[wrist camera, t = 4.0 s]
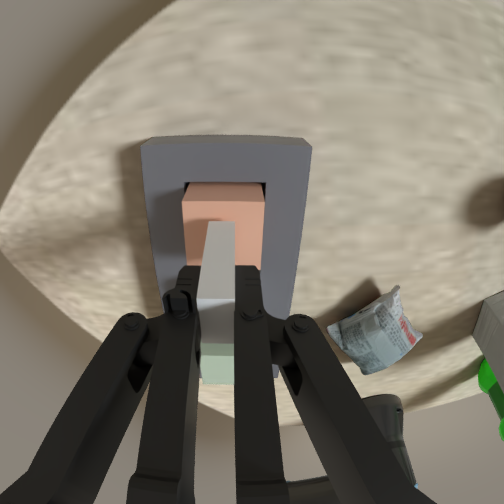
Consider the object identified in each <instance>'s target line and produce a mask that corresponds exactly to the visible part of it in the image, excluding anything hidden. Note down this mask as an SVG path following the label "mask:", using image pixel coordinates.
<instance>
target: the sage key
mask: <svg viewBox="0 0 504 504" xmlns="http://www.w3.org/2000/svg"><path fill="white" fill-rule="evenodd" d="M200 347H201V363H200V368H201V374H202V380H203V384H225V385H234V344H215V343H202V342H201V344H200Z"/></svg>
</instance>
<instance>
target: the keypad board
mask: <svg viewBox="0 0 504 504" xmlns="http://www.w3.org/2000/svg"><path fill="white" fill-rule="evenodd" d="M140 150H141V162H142V174H143V184H144V193H145V202H146V210H147V218H148V225H149V233H150V239H151V246H152V252H153V258H154V264H155V270H156V276H157V281H158V287H159V292H160V297H161V302H162V307H163V311H164V306H163V301H162V297H163V295H164V293H166V292H167V291H168V290H171V289H173V288H175V285H176V281H177V277H178V273H179V271H180V270H181V269H182V267H183V266H184V265H187V259H186V249H185V237H184V225H183V212H182V200H183V197H184V195H185V193H186V190H187V188H188V186H189V184H190V182H262V191H263V196H264V200H265V208H264V224H263V239H262V254H261V269H260V270H259V271H260V280H261V288H262V297H263V306H264V309H265V310H266V312H267V313H268V314H270V315H271V316H273V317H276V318H279V319H283V320H286V319H287V318H288V317H289V313H290V308H291V302H292V295H293V289H294V283H295V277H296V270H297V263H298V257H299V250H300V243H301V236H302V229H303V221H304V213H305V206H306V198H307V189H308V181H309V172H310V163H311V154H312V146H311V145H310V144H309V143H308V142H306V141H305V140H304V139H303V138H295V137H279V136H257V135H185V136H163V137H152V138H151V139H149V140H148V141H146V142H145V143H144V144H142V145H141V146H140ZM164 313H165V311H164ZM272 369H273V378H278V373H279V368H278V365H275V364H272ZM199 378H202V374H201V368H200V376H199Z"/></svg>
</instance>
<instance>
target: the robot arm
mask: <svg viewBox="0 0 504 504" xmlns="http://www.w3.org/2000/svg"><path fill="white" fill-rule="evenodd" d="M162 301H163V306H164V311H165V313H164V314H163V315H161V316H158V317H154V318H149V319H146V318H145V317H144V315H142V314H140V313H134V312H132V313H127V314H125V315H123V316H122V317H121V318H120V319H119V320H118V321H117V323H116V324H115V326H114V327H113V329H112V330H111V331H110V333H109V334H108V336H107V337H106V339H105V340H104V342H103V343H102V345H101V346H100V348H99V350H98V351H97V352H96V354H95V355H94V357H93V359H92V360H91V362H90V363H89V365H88V366H87V368H86V369H85V371H84V373H83V374H82V376H81V378H80V379H79V381H78V382H77V384H76V385H75V387H74V389H73V390H72V392H71V394H70V396H69V397H68V398H67V400H66V402H65V404H64V405H63V407H62V409H61V410H60V412H59V414H58V415H57V417H56V419H55V421H54V422H53V424H52V426H51V428H50V429H49V432H48V433H47V435H46V437H45V438H44V440H43V442H42V444H41V446H40V448H39V450H38V451H37V453H36V456H35V457H34V459H33V461H32V463H31V465H30V467H29V469H28V471H27V472H26V473H25V474H24V475H22V476H21V477H20V478H19V479H18V480H17V481H15V482H14V483H13V484H12V485H11V486H10V487H8V488H7V489H6V490H5V491H4V492H3V493H2V494H0V504H93V503H94V501H95V499H96V497H97V494H98V492H99V489H100V487H101V485H102V483H103V481H104V478H105V476H106V474H107V471H108V469H109V467H110V465H111V463H112V460H113V458H114V456H115V454H116V452H117V449H118V447H119V445H120V443H121V441H122V438H123V436H124V434H125V432H126V430H127V428H128V426H129V424H130V421H131V419H132V417H133V415H134V413H135V411H136V409H137V407H138V405H139V403H140V400H141V398H142V396H143V394H144V392H145V390H146V388H147V386H148V384H149V382H150V386H149V391H148V396H147V402H146V408H145V414H144V420H143V426H142V433H141V440H140V447H139V454H138V461H137V468H136V471H135V473H134V474H133V475H132V476H131V478H130V480H129V484H128V491H127V500H126V504H195V497H194V466H195V442H196V441H195V440H196V421H197V405H198V390H199V376H200V363H201V347H200V344H201V342H202V343H215V344H234V414H235V459H236V460H235V465H236V499H237V504H437V503H435V502H434V501H432V500H431V499H430V498H429V497H427V496H426V495H425V494H423V493H422V492H421V491H419V490H418V489H417V486H418V484H417V483H416V480H415V476H414V473H413V469H412V466H411V462H410V459H409V456H408V453H407V449H406V446H405V443H404V440H403V406H402V404H401V401H400V398H399V397H397V396H395V395H379V396H374V397H370V398H366V399H363V400H362V399H361V397H360V395H359V393H358V392H357V390H356V388H355V387H354V385H353V383H352V382H351V380H350V378H349V377H348V375H347V373H346V372H345V370H344V368H343V367H342V365H341V363H340V362H339V360H338V358H337V357H336V355H335V353H334V352H333V350H332V348H331V347H330V345H329V344H328V342H327V340H326V339H325V337H324V335H323V334H322V332H321V330H320V329H319V327H318V325H317V324H316V322H315V321H314V320H313V319H312V318H311V317H309V316H307V315H303V314H294V315H291V316H289V317H288V318H287V319H286V320H283V319H279V318H276V317H273V316H271V315H270V314H268V313H267V312H266V310H265V309H264V306H263V297H262V288H261V280H260V271H259V270H258V269H257V267H256V266H255V265H235V221H209V223H208V229H207V235H206V241H205V246H204V253H203V259H202V265H201V266H200V265H184V266H183V267H182V269H181V270H180V271H179V273H178V277H177V281H176V285H175V288H173V289H171V290H168V291H167V292H166V293H164V295H163V297H162ZM272 364H275V365H278V368H279V370H280V372H281V375H282V377H283V379H284V381H285V384H286V386H287V388H288V390H289V393H290V395H291V397H292V399H293V402H294V404H295V406H296V408H297V410H298V413H299V415H300V417H301V419H302V421H303V424H304V426H305V428H306V430H307V432H308V434H309V437H310V439H311V441H312V443H313V445H314V448H315V450H316V452H317V454H318V456H319V458H320V461H321V463H322V465H323V467H324V469H325V471H326V473H327V475H326V476H321V477H316V478H311V479H305V480H299V481H286V480H285V478H284V471H283V462H282V453H281V443H280V433H279V424H278V414H277V405H276V396H275V387H274V378H273V369H272Z"/></svg>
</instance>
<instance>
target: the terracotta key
mask: <svg viewBox="0 0 504 504" xmlns="http://www.w3.org/2000/svg"><path fill="white" fill-rule="evenodd" d="M264 208H265V200H264V196H263V191H262V187H261V182H190V184H189V186H188V188H187V190H186V193H185V195H184V197H183V200H182V212H183V225H184V237H185V249H186V259H187V265H200V266H201V265H202V259H203V253H204V246H205V241H206V235H207V229H208V223H209V221H235V265H255V266H256V267H257V269H258V270H260V269H261V254H262V239H263V224H264Z"/></svg>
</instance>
